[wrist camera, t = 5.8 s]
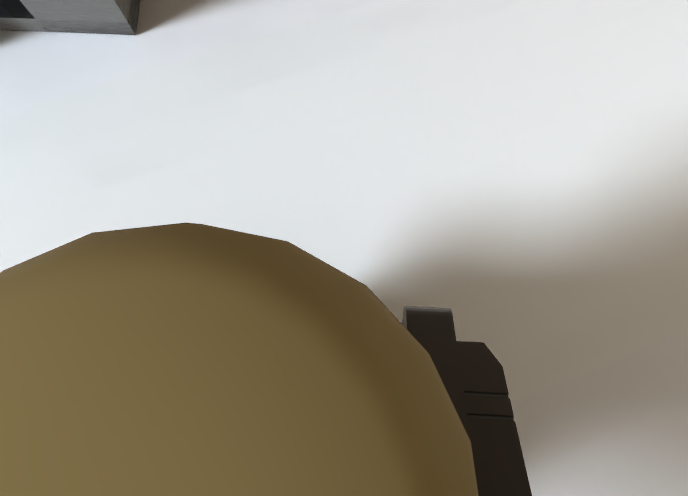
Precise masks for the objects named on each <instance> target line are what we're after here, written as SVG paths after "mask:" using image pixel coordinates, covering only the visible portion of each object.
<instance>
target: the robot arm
mask: <svg viewBox="0 0 688 496" xmlns="http://www.w3.org/2000/svg"><path fill="white" fill-rule="evenodd" d="M402 325H403V326H404V327H405V328H406V329H407V330H408V331H409V333H410V334H411V335H412V336H413V337H414V338H415V339H416V340H417V341H418V342H419V343H420V344H421V345H422V347H423V348H424V349H425V350H426V351H427V352H428V353H429V355H430V357H431V359H432V361H433V363H434V365H435V367H436V369H437V372H438V374H439V376H440V378H441V380H442V382H443V384H444V386H445V388H446V391H447V393H448V395H449V397H450V399H451V401H452V403H453V405H454V408H455V410H456V412H457V414H458V416H459V418H460V420H461V422H462V424H463V427H464V429H465V431H466V433H467V435H468V437H469V439H470V441H471V447H472V454H473V461H474V468H475V475H476V481H477V488H478V495H479V496H532V494H531V489H530V485H529V481H528V476H527V472H526V468H525V463H524V459H523V455H522V450H521V446H520V441H519V437H518V433H517V428H516V424H515V422H514V421H513V416H514V415H513V411H512V407H511V402H510V399H508V389H507V385H506V380H505V376H504V372H503V367H502V365H501V364H500V363H499V362H498V360H497V359H496V358H495V357H494V355H493V354H492V353H491V352H490V350H489V349H488V348H487V346H486V345H485V344H484V343H481V342H461V341H456V336H455V330H454V323H453V316H452V311H451V309H449V308H429V307H409V306H405V307H404V311H403V319H402Z"/></svg>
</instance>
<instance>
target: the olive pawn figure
mask: <svg viewBox="0 0 688 496" xmlns="http://www.w3.org/2000/svg"><path fill="white" fill-rule="evenodd" d="M0 496H479V495H478V488H477V481H476V475H475V468H474V461H473V454H472V447H471V441H470V439H469V437H468V435H467V433H466V431H465V429H464V427H463V424H462V422H461V420H460V418H459V416H458V414H457V412H456V410H455V408H454V405H453V403H452V401H451V399H450V397H449V395H448V393H447V391H446V388H445V386H444V384H443V382H442V380H441V378H440V376H439V374H438V372H437V369H436V367H435V365H434V363H433V361H432V359H431V357H430V355H429V353H428V352H427V351H426V350H425V349H424V348H423V347H422V345H421V344H420V343H419V342H418V341H417V340H416V339H415V338H414V337H413V336H412V335H411V334H410V333H409V331H408V330H407V329H406V328H405V327H404V326H403V325H402V324H401V323H400V322H399V321H398V320H397V318H396V317H395V316H394V315H393V314H392V313H391V312H390V311H389V310H388V309H387V308H386V307H385V306H384V304H383V303H382V302H381V301H380V300H379V299H378V298H377V297H376V296H375V295H374V294H373V293H372V291H371V290H370V289H369V288H368V287H367V286H366V285H364V284H362V283H361V282H359V281H357V280H355V279H354V278H352V277H350V276H348V275H346V274H345V273H343V272H341V271H339V270H338V269H336V268H334V267H332V266H330V265H329V264H327V263H325V262H323V261H322V260H320V259H318V258H316V257H314V256H313V255H311V254H309V253H307V252H306V251H304V250H302V249H300V248H298V247H297V246H295V245H293V244H291V243H289V242H287V241H282V240H277V239H273V238H268V237H263V236H258V235H253V234H248V233H243V232H238V231H233V230H228V229H223V228H218V227H213V226H208V225H203V224H193V223H179V224H170V225H160V226H151V227H142V228H133V229H123V230H114V231H105V232H95V233H91V234H88V235H86V236H84V237H81V238H79V239H77V240H74V241H72V242H70V243H67V244H65V245H62V246H60V247H58V248H55V249H53V250H51V251H48V252H46V253H44V254H41V255H39V256H37V257H34V258H32V259H30V260H27V261H25V262H22V263H20V264H18V265H15V266H13V267H11V268H8V269H6V270H4V271H2V272H1V273H0Z"/></svg>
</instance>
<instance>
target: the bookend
mask: <svg viewBox="0 0 688 496" xmlns="http://www.w3.org/2000/svg"><path fill="white" fill-rule="evenodd" d="M139 4H140V0H0V30H22V31H48V32H74V33H100V34H126V35H135V34H136V27H137V19H138V12H139Z"/></svg>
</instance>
